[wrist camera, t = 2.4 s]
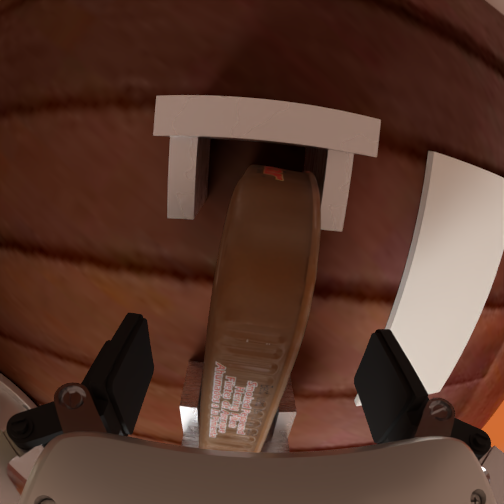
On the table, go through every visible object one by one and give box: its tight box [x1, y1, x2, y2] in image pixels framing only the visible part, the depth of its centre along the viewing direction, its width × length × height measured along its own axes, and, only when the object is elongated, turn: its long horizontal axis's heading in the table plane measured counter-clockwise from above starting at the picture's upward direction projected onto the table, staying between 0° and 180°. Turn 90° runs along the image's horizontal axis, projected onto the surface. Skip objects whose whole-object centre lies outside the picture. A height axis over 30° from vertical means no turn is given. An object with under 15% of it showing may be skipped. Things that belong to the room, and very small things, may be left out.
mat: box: [354, 151, 504, 406], centre depth 17 cm, size 19×9×1 cm, turn 175°
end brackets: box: [153, 95, 381, 453], centre depth 13 cm, size 7×19×6 cm, turn 175°
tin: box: [199, 165, 321, 453], centre depth 12 cm, size 15×3×8 cm, turn 171°
